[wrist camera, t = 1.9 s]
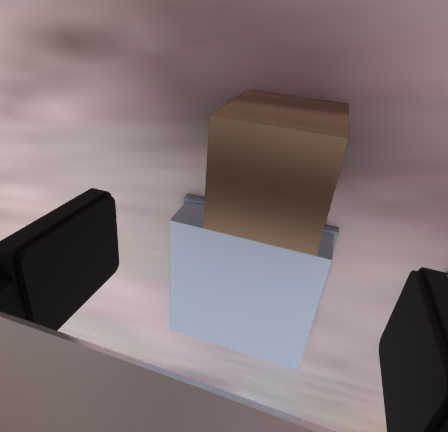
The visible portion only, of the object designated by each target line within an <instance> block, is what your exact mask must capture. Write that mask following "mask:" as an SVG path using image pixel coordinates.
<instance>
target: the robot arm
mask: <svg viewBox="0 0 448 432" xmlns="http://www.w3.org/2000/svg"><path fill="white" fill-rule="evenodd" d="M118 266H119V253H118V238H117V223H116V208H115V200H114V198H113V197H111V194H110V193H109V192H107V191H103V190H98V189H94V188H92V189H89V190H88V191H86V192H84V193H82V194H81V195H79V196H77V197H75V198H74V199H72V200H70V201H69V202H67V203H65V204H63V205H62V206H60V207H58V208H57V209H55V210H53V211H51V212H50V213H48V214H46V215H44V216H43V217H41V218H39V219H38V220H36V221H34V222H32V223H31V224H29V225H27V226H26V227H24V228H22V229H20V230H19V231H17V232H15V233H13V234H12V235H10V236H8V237H7V238H5V239H3V240H1V241H0V432H335V431H333V430H330V429H327V428H325V427H322V426H320V425H317V424H314V423H312V422H309V421H306V420H304V419H301V418H298V417H295V416H293V415H290V414H287V413H284V412H282V411H279V410H276V409H273V408H271V407H268V406H265V405H262V404H260V403H257V402H254V401H251V400H249V399H246V398H243V397H240V396H238V395H235V394H232V393H229V392H227V391H224V390H221V389H218V388H216V387H213V386H210V385H207V384H205V383H202V382H199V381H196V380H193V379H191V378H188V377H185V376H182V375H179V374H177V373H174V372H171V371H168V370H166V369H163V368H160V367H157V366H154V365H152V364H149V363H146V362H143V361H140V360H138V359H135V358H132V357H129V356H126V355H124V354H121V353H118V352H115V351H112V350H110V349H107V348H104V347H101V346H98V345H95V344H93V343H90V342H87V341H84V340H81V339H78V338H75V337H73V336H70V335H67V334H64V333H61V332H58V331H57V330H58V329H59V328H60V327H61V326H62V325H63V324H64V323H65V322H66V321H67V320H68V319H69V318H70V317H71V316H72V315H73V314H74V313H75V312H76V311H77V310H78V309H79V308H80V307H81V306H82V305H83V304H84V303H85V302H86V301H87V300H88V299H89V298H90V297H91V296H92V295H93V294H94V293H95V292H96V291H97V290H98V289H99V288H100V287H101V286H102V285H103V284H104V283H105V282H106V281H107V280H108V279H109V278H110V277H111V276H112V275H113V274H114V273H115V272H116V270H117V269H118ZM379 357H380V366H381V376H382V386H383V395H384V405H385V414H386V424H387V432H448V276H447V274H446V273H444V272H440V271H436V270H432V269H428V268H424V267H422V268H420V269H419V270H418V271H414V270H413V271H411V273H410V274H409V276H408V279H407V281H406V283H405V285H404V288H403V290H402V292H401V294H400V297H399V299H398V301H397V303H396V305H395V308H394V310H393V312H392V314H391V317H390V319H389V321H388V323H387V325H386V328H385V330H384V332H383V334H382V337H381V339H380V343H379Z"/></svg>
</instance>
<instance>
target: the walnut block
mask: <svg viewBox="0 0 448 432" xmlns="http://www.w3.org/2000/svg"><path fill="white" fill-rule="evenodd" d="M348 140H349V104H344V103H337V102H330V101H323V100H316V99H309V98H303V97H296V96H289V95H282V94H275V93H268V92H261V91H254V90H248V91H246V92H245V93H243V94H242V95H240V96H239V97H237V98H235V99H234V100H232V101H231V102H229V103H228V104H226V105H225V106H223V107H222V108H220V109H219V110H217V111H216V112H214V113H213V114H211V115H210V121H209V137H208V154H207V171H206V188H205V205H204V222H203V229H207V230H211V231H215V232H219V233H224V234H228V235H232V236H236V237H240V238H244V239H248V240H252V241H256V242H260V243H264V244H268V245H272V246H276V247H281V248H285V249H289V250H293V251H297V252H301V253H305V254H309V255H313V256H317V252H318V249H319V245H320V242H321V238H322V234H323V231H324V227H325V223H326V220H327V216H328V213H329V209H330V205H331V202H332V198H333V194H334V191H335V187H336V183H337V180H338V176H339V173H340V169H341V165H342V162H343V158H344V154H345V151H346V147H347V144H348Z"/></svg>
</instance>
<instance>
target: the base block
mask: <svg viewBox="0 0 448 432" xmlns="http://www.w3.org/2000/svg"><path fill="white" fill-rule="evenodd" d="M204 205H205V198H202V197H197V196H193V195H188V194H187V195H186V196H185V197H184V205H183V206H182V207H181V208H180V209H179V211H178V212H177V213H176V214H175V215H174V216H173V217H172V218H171V219H170V330H173V331H176V332H179V333H182V334H185V335H188V336H192V337H195V338H198V339H201V340H204V341H207V342H210V343H213V344H216V345H220V346H223V347H226V348H229V349H232V350H235V351H238V352H241V353H244V354H248V355H251V356H254V357H257V358H260V359H263V360H266V361H269V362H272V363H276V364H279V365H282V366H285V367H288V368H291V369H294V370H297V371H298V369H299V366H300V363H301V359H302V356H303V353H304V350H305V346H306V343H307V340H308V337H309V333H310V330H311V327H312V324H313V321H314V317H315V314H316V311H317V308H318V304H319V301H320V298H321V295H322V291H323V288H324V285H325V282H326V279H327V275H328V272H329V269H330V266H331V262H332V255H333V249H334V245H335V242H336V239H337V235H338V229H339V228H335V227H331V226H326V225H325V227H324V231H323V234H322V238H321V242H320V245H319V249H318V252H317V256H313V255H309V254H305V253H301V252H297V251H293V250H289V249H285V248H281V247H276V246H272V245H268V244H264V243H260V242H256V241H252V240H248V239H244V238H240V237H236V236H232V235H228V234H224V233H219V232H215V231H211V230H207V229H203V222H204Z"/></svg>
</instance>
